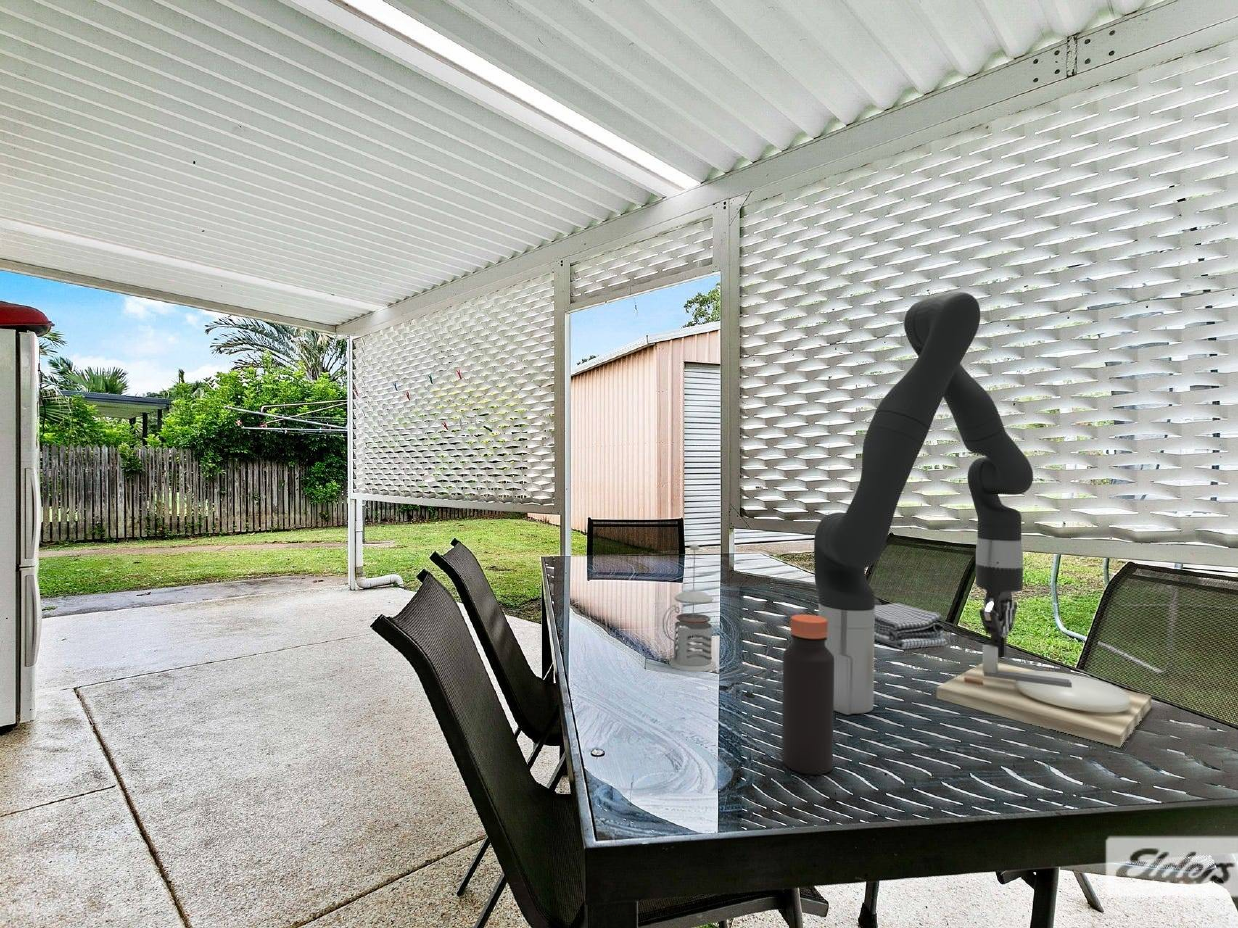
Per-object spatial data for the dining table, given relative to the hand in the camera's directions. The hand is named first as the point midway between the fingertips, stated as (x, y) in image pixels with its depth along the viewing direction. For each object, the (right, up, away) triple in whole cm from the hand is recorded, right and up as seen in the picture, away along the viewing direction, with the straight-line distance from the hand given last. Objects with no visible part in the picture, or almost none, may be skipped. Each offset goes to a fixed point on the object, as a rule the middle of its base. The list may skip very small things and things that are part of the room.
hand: (998, 656), depth 115 cm
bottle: (-45, -6, -30) cm, 55 cm away
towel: (-3, -8, +37) cm, 38 cm away
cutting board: (+5, -7, -5) cm, 10 cm away
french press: (-56, -6, +13) cm, 58 cm away
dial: (+5, -4, -8) cm, 10 cm away
